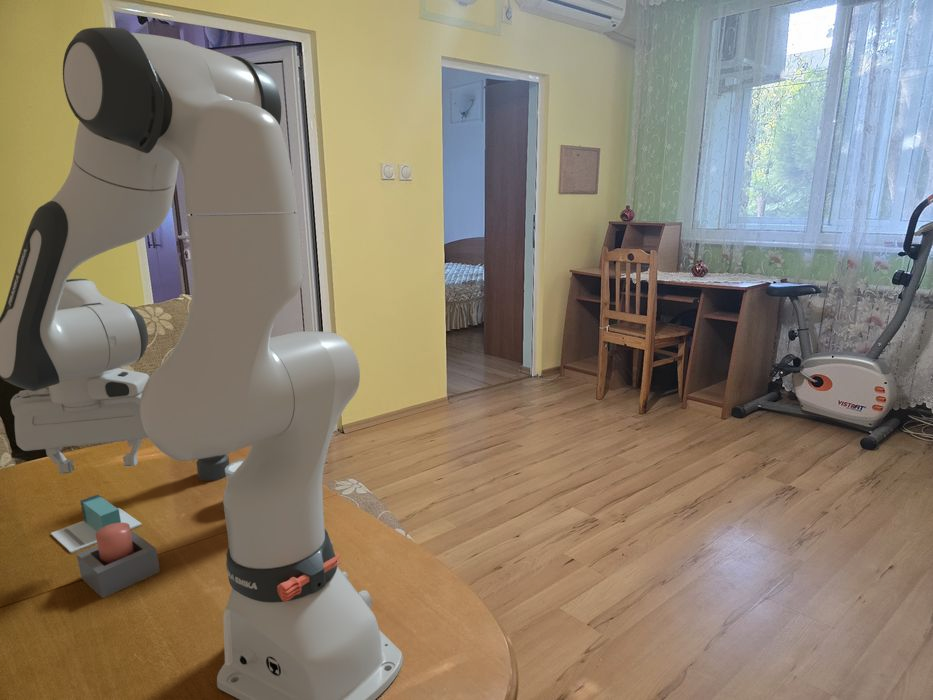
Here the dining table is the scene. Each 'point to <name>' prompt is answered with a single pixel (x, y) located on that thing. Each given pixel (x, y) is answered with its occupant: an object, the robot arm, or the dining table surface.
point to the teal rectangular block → (99, 512)
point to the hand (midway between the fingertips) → (99, 468)
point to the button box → (118, 567)
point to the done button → (114, 542)
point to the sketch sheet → (86, 533)
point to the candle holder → (212, 467)
